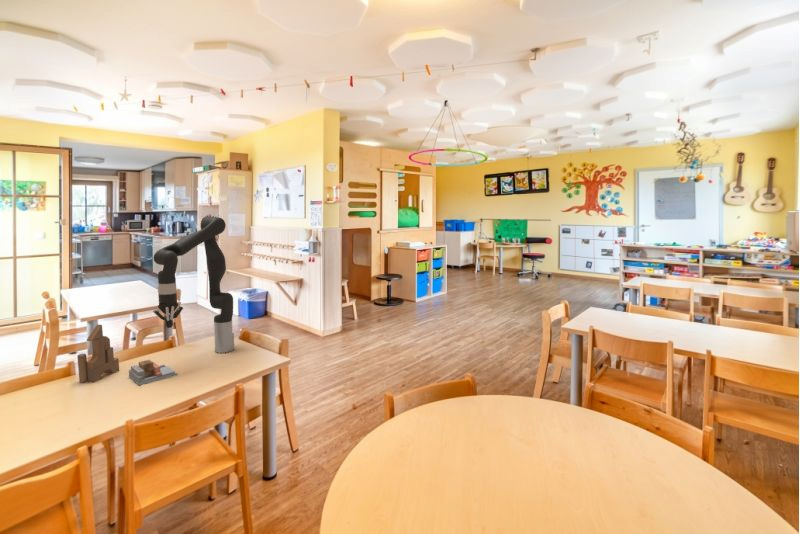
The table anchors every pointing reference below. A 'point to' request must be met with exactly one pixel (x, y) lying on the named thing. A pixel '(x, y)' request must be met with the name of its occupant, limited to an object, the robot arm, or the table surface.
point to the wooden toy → (97, 358)
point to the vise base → (139, 376)
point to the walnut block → (147, 368)
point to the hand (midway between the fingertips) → (169, 327)
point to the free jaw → (156, 369)
